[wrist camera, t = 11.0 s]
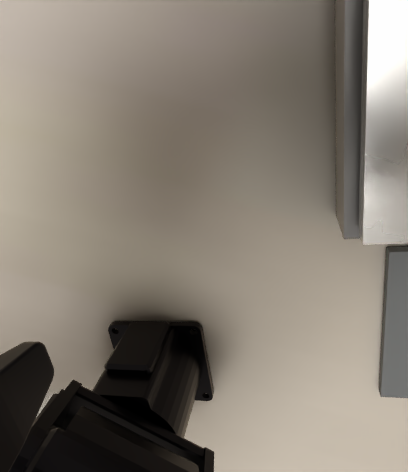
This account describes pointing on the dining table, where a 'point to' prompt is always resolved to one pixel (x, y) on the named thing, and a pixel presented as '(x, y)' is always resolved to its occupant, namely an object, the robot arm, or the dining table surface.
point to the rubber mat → (395, 325)
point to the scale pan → (384, 124)
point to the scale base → (348, 112)
